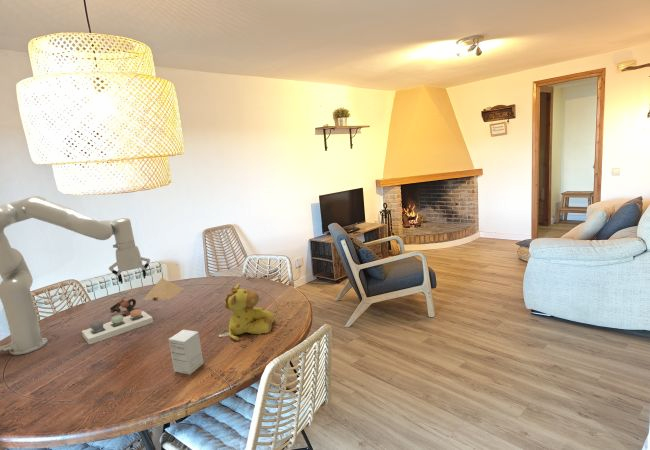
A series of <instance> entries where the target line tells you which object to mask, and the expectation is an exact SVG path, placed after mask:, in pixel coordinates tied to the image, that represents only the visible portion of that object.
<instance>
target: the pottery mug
mask: <svg viewBox="0 0 650 450" xmlns="http://www.w3.org/2000/svg"><path fill="white" fill-rule="evenodd" d="M131 303H132V304H131ZM136 305H137V300H136V299H135V298H129V299H128V300H124V299H121V300H120V301H118V302H117V303H115V304H114V305H112V306H111V307H110V308H109V310H110V313H111V314H114V313H115V312H116V313H120V312H121V311H122V310H121V308H120V307H122V309H123V308H125V310H126V311H125V312H124V313H123V314H124V315H125V317H126V316H129V315H130V312H131V311H132V310H134V308H135V306H136Z"/></svg>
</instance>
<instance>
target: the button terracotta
mask: <svg viewBox="0 0 650 450" xmlns="http://www.w3.org/2000/svg"><path fill="white" fill-rule="evenodd" d="M141 312H142V310H141V308H137V309H136V308H135V309H133V310H132V311H131V312H130V315H131V317H133V320H138V319H140V318H141V317H140V315H141V314H142V313H141Z"/></svg>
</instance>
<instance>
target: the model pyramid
mask: <svg viewBox="0 0 650 450" xmlns="http://www.w3.org/2000/svg"><path fill="white" fill-rule="evenodd" d="M183 290H185V288H184V287H182V286H179V285H177V284H175V283H173V282H171V281H169V280H166V279H165V278H162V277H161V278H160V279H159V280H158V281H157V282H156V284H155V285H154V286H153V287H152V288H151V289H150V290H149V292H147V294H146V295H145V296H144V297H143V298H142V300H143V301H147V300H148V301H149V300H150V301H155V300H156V301H158V300H159V301H160V300H171V299H172V298H173V297H175V296H176V295H178V294H179V293H181V292H182V291H183Z"/></svg>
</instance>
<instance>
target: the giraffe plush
mask: <svg viewBox="0 0 650 450" xmlns="http://www.w3.org/2000/svg"><path fill="white" fill-rule="evenodd" d="M240 286H241V285H240V283H237V284H236V285H235V286H231V287H230V291H229V293H228V294H226V297H225V300H224V301H225V302H224V307H225V309H227V310H229V311H231V312H232V315H231V317H230V319H229V324H228V332H225V333H221V334H218V337H219V338H220V337H227V336H230V338H231V339H233V340H234V341H236V342H239V341H240V340H241V339H240V338H241V337H239V336H240V335H243V334H245V333H249V334H253V335H262V334H261V333H265V334H268V333H270V332H271V330H272V327H273V325H272V324H273V322H274V320H275V317H274V315H273V312H271V310H270V309H269V310H268V309H265V307H263V306H262V307H261V306H260V307H259V306H257V307H255V306H256V305H257V304H258V303H259V300H260V295H259V293H257V292H256V291H254V290H252V289H244V288H240ZM238 335H239V336H238Z"/></svg>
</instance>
